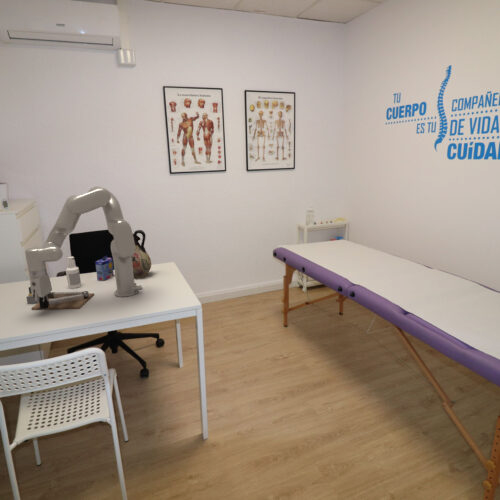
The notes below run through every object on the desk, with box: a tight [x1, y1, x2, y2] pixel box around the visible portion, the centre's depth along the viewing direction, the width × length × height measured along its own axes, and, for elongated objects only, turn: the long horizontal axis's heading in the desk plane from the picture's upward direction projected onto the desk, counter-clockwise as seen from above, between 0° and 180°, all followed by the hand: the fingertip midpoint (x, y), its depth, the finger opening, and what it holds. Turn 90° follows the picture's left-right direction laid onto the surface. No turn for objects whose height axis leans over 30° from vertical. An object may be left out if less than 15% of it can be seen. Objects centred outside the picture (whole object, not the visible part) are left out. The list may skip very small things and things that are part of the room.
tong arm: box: [47, 290, 90, 306], centre depth 185 cm, size 23×4×3 cm, turn 116°
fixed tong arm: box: [47, 291, 83, 298], centre depth 191 cm, size 19×2×2 cm, turn 91°
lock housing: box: [26, 295, 41, 305], centre depth 190 cm, size 6×8×4 cm
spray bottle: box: [65, 256, 82, 290], centre depth 207 cm, size 7×7×18 cm
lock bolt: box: [27, 286, 32, 296], centre depth 189 cm, size 6×6×4 cm
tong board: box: [31, 292, 95, 311], centre depth 187 cm, size 24×18×1 cm
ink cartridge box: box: [94, 255, 115, 282], centre depth 221 cm, size 10×6×14 cm, turn 163°
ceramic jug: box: [132, 229, 152, 279], centre depth 223 cm, size 17×15×30 cm
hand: (44, 308), depth 176 cm, fingers closed
